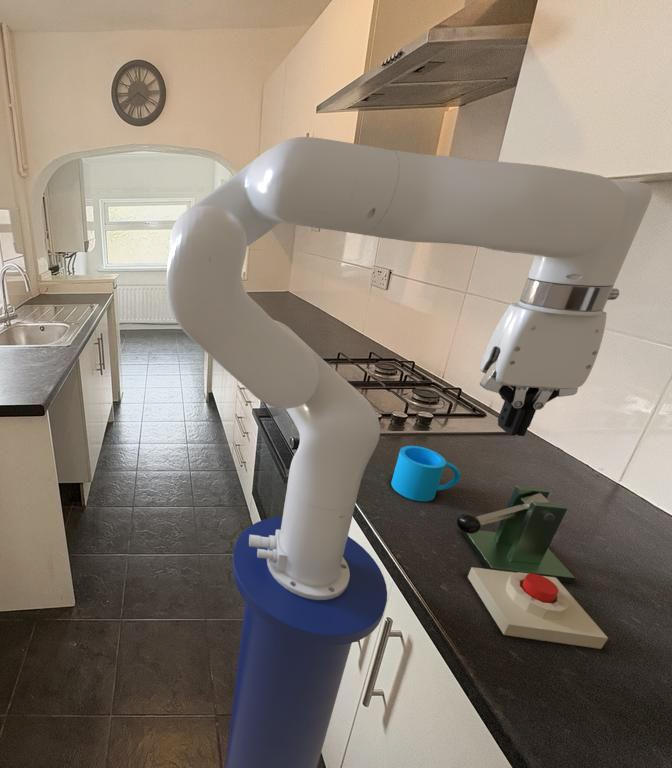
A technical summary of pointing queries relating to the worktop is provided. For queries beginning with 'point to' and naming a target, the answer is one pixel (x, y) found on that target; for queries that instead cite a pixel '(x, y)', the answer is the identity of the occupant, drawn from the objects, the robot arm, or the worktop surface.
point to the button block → (534, 610)
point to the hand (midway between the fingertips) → (510, 430)
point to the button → (540, 588)
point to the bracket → (524, 539)
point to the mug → (421, 473)
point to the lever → (497, 514)
